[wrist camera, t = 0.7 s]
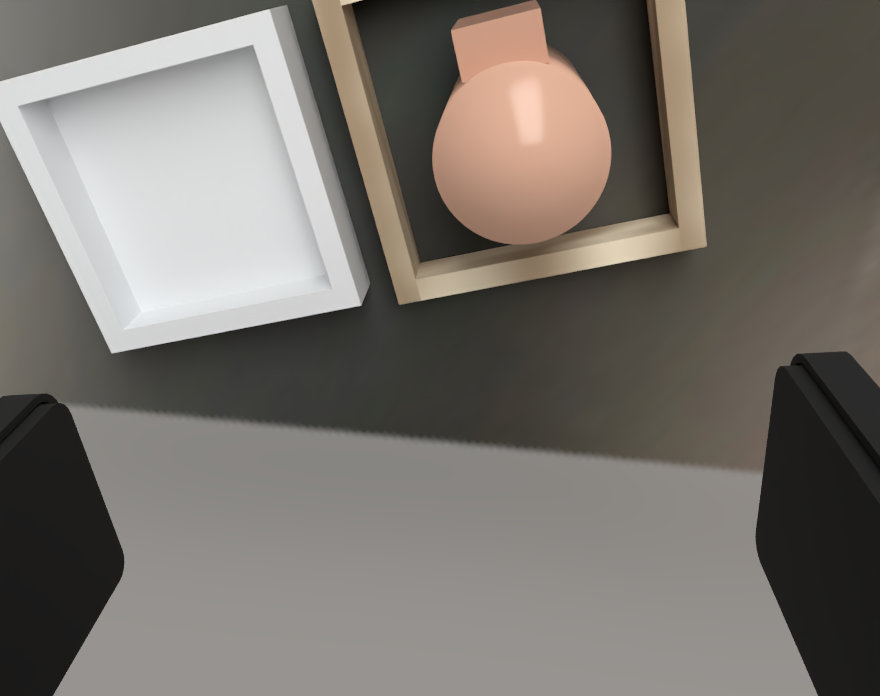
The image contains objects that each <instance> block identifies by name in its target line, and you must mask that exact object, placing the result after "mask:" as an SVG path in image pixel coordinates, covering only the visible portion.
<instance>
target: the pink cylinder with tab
mask: <svg viewBox="0 0 880 696" xmlns="http://www.w3.org/2000/svg"><path fill="white" fill-rule="evenodd" d="M451 34H452V39H453V43H454V48H455V52H456V57H457V62H458V66H459V71H460V74H459V76H458V78H457V80H456V82H455V84H454V87H453V89H452V92H451V95H450V97H449V100H448V102H447V105H446V107H445V110H444V112H443V115H442V118H441V120H440V123H439V126H438V128H437V131H436V134H435V139H434V143H433V153H432V163H433V172H434V178H435V182H436V185H437V188H438V191H439V193H440V195H441V197H442V199H443V201H444V203H445V204H446V206H447V207H448V209H449V210H450V211H451V213H452V214H453V215H454V216H455V217H456V218H457V219H458V220H459V221H460V222H461V223H462V224H463V225H464V226H466V227H467V228H468V229H470V230H471V231H473V232H474V233H476V234H478V235H480V236H482V237H484V238H487V239H490V240H492V241H496V242H500V243H505V244H514V245H520V244H533V243H538V242H542V241H546V240H549V239H551V238H554V237H556V236H559V235H561V234H562V233H564V232H566V231H568V230H569V229H571V228H572V227H573V226H575V225H576V224H578V223H579V222H580V221H581V220H582V219H583V218H584V217H585V216H586V215H587V214H588V213H589V211H590V210H591V209H592V208H593V207H594V205H595V203H596V202H597V200H598V199H599V197H600V195H601V193H602V191H603V189H604V187H605V184H606V181H607V178H608V175H609V169H610V164H611V141H610V136H609V131H608V128H607V125H606V122H605V119H604V117H603V115H602V113H601V111H600V109H599V107H598V106H597V104H596V102H595V100H594V99H593V97H592V95H591V93H590V92H589V90H588V88H587V87H586V85H585V83H584V81H583V80H582V78H581V76H580V75H579V73H578V71H577V70H576V68H575V67H574V65H573V64H572V63H571V62H570V61H569V60H568V58H567V57H566V56H565V55H563V54H562V53H561V52H559V51H558V50H557V49H555V48H553V47H552V46H550V45H547V44H546V39H545V33H544V27H543V21H542V14H541V8H540V6H539V5H538V3H537V1H536V0H532V1H528V2H524V3H520V4H516V5H512V6H508V7H504V8H501V9H497V10H493V11H489V12H485V13H481V14H477V15H473V16H469V17H465V18H461V19H458V21H457V22H456V24H455V25H454V27H453V28H452V29H451Z"/></svg>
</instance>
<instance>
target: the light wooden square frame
mask: <svg viewBox="0 0 880 696" xmlns="http://www.w3.org/2000/svg"><path fill="white" fill-rule="evenodd" d="M357 1H361V0H312V2H313V5H314V9H315V12H316V16H317V19H318V23H319V26H320V30H321V33H322V37H323V40H324V44H325V47H326V51H327V54H328V58H329V61H330V65H331V68H332V72H333V75H334V79H335V82H336V86H337V89H338V93H339V96H340V100H341V103H342V107H343V110H344V114H345V117H346V121H347V124H348V128H349V131H350V135H351V138H352V142H353V145H354V149H355V152H356V156H357V159H358V163H359V166H360V170H361V173H362V177H363V180H364V184H365V187H366V191H367V194H368V198H369V201H370V205H371V208H372V212H373V215H374V219H375V222H376V226H377V229H378V233H379V236H380V240H381V243H382V247H383V250H384V254H385V257H386V261H387V264H388V268H389V271H390V275H391V278H392V282H393V285H394V289H395V292H396V296H397V299H398V303H399V305H401V304H407V303H412V302H417V301H422V300H428V299H433V298H438V297H443V296H449V295H454V294H459V293H465V292H470V291H475V290H480V289H486V288H491V287H496V286H501V285H507V284H512V283H517V282H522V281H528V280H533V279H538V278H544V277H549V276H554V275H559V274H565V273H570V272H575V271H580V270H586V269H591V268H596V267H601V266H607V265H612V264H617V263H623V262H628V261H633V260H638V259H644V258H649V257H654V256H659V255H665V254H670V253H675V252H680V251H686V250H691V249H696V248H702V247H707V244H706V233H705V222H704V211H703V199H702V188H701V177H700V165H699V154H698V143H697V132H696V120H695V109H694V98H693V86H692V75H691V64H690V53H689V41H688V30H687V19H686V8H685V0H647V10H648V19H649V28H650V37H651V46H652V55H653V65H654V74H655V83H656V92H657V101H658V110H659V120H660V129H661V138H662V147H663V156H664V166H665V175H666V184H667V193H668V202H669V211H670V213H668V214H663V215H658V216H653V217H648V218H643V219H638V220H633V221H628V222H623V223H618V224H613V225H608V226H603V227H598V228H593V229H588V230H583V231H578V232H573V233H568V234H563V235H559V236H556V237H554V238H551V239H549V240H546V241H542V242H538V243H533V244H520V245H514V244H513V245H508V246H503V247H497V248H492V249H487V250H482V251H477V252H472V253H467V254H462V255H457V256H452V257H447V258H442V259H437V260H432V261H427V262H422V263H420V260H419V256H418V252H417V249H416V245H415V241H414V237H413V234H412V230H411V226H410V222H409V218H408V215H407V211H406V207H405V203H404V200H403V196H402V192H401V188H400V185H399V181H398V177H397V173H396V169H395V166H394V162H393V158H392V154H391V151H390V147H389V143H388V139H387V136H386V132H385V128H384V124H383V120H382V117H381V113H380V109H379V105H378V102H377V98H376V94H375V90H374V87H373V83H372V79H371V75H370V71H369V68H368V64H367V60H366V56H365V53H364V49H363V45H362V41H361V38H360V34H359V30H358V26H357V22H356V19H355V15H354V11H353V7H352V4H351V3H353V2H357Z"/></svg>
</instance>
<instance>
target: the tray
mask: <svg viewBox="0 0 880 696" xmlns="http://www.w3.org/2000/svg"><path fill="white" fill-rule="evenodd" d="M0 122H1V124H2V126H3V128H4V130H5V132H6V135H7V137H8V139H9V141H10V143H11V145H12V147H13V149H14V151H15V153H16V155H17V157H18V159H19V162H20V164H21V166H22V168H23V170H24V172H25V174H26V176H27V178H28V180H29V182H30V184H31V187H32V189H33V191H34V193H35V195H36V197H37V199H38V201H39V203H40V205H41V207H42V209H43V211H44V214H45V216H46V218H47V220H48V222H49V224H50V226H51V228H52V230H53V232H54V234H55V236H56V238H57V241H58V243H59V245H60V247H61V249H62V251H63V253H64V255H65V257H66V259H67V261H68V263H69V265H70V268H71V270H72V272H73V274H74V276H75V278H76V280H77V282H78V284H79V286H80V288H81V290H82V292H83V295H84V297H85V299H86V301H87V303H88V305H89V307H90V309H91V311H92V313H93V315H94V317H95V319H96V322H97V324H98V326H99V328H100V330H101V332H102V334H103V336H104V338H105V340H106V342H107V344H108V346H109V349H110V351H111V353H116V352H121V351H127V350H132V349H137V348H142V347H148V346H153V345H158V344H163V343H168V342H174V341H179V340H184V339H189V338H195V337H200V336H205V335H210V334H216V333H221V332H226V331H231V330H236V329H242V328H247V327H252V326H257V325H263V324H268V323H273V322H278V321H283V320H289V319H294V318H299V317H304V316H310V315H315V314H320V313H325V312H330V311H336V310H341V309H346V308H351V307H357V306H361V305H362V302H363V300H364V298H365V295H366V293H367V290H368V288H369V286H370V280H369V277H368V274H367V270H366V267H365V264H364V260H363V257H362V254H361V250H360V247H359V244H358V240H357V237H356V234H355V230H354V227H353V224H352V220H351V217H350V214H349V210H348V207H347V204H346V200H345V197H344V194H343V190H342V187H341V184H340V180H339V177H338V174H337V170H336V167H335V163H334V160H333V157H332V153H331V150H330V147H329V143H328V140H327V137H326V133H325V130H324V127H323V123H322V120H321V117H320V113H319V110H318V107H317V103H316V100H315V97H314V93H313V90H312V87H311V83H310V80H309V77H308V73H307V70H306V67H305V63H304V60H303V57H302V53H301V50H300V47H299V43H298V40H297V37H296V33H295V30H294V27H293V23H292V20H291V17H290V13H289V10H288V7H287V5H285V6H281V7H276V8H272V9H268V10H265V11H261V12H257V13H253V14H250V15H246V16H242V17H238V18H235V19H231V20H227V21H224V22H220V23H216V24H212V25H209V26H205V27H201V28H198V29H194V30H190V31H186V32H183V33H179V34H175V35H171V36H168V37H164V38H160V39H157V40H153V41H149V42H145V43H142V44H138V45H134V46H131V47H127V48H123V49H119V50H116V51H112V52H108V53H105V54H101V55H97V56H93V57H90V58H86V59H82V60H78V61H75V62H71V63H67V64H64V65H60V66H56V67H52V68H49V69H45V70H41V71H38V72H34V73H30V74H26V75H23V76H19V77H15V78H11V79H8V80H4V81H0Z"/></svg>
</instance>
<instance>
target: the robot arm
mask: <svg viewBox="0 0 880 696" xmlns="http://www.w3.org/2000/svg"><path fill="white" fill-rule="evenodd" d="M756 546H757V552H758V557H759V560H760V563H761V565H762V567H763V570H764V572H765V574H766V576H767V579H768V581H769V583H770V586H771V588H772V590H773V593H774V595H775V597H776V599H777V601H778V604H779V606H780V608H781V611H782V613H783V616H784V618H785V620H786V623H787V625H788V627H789V629H790V632H791V634H792V636H793V639H794V641H795V643H796V646H797V648H798V650H799V653H800V654H801V657H802V659H803V662H804V664H805V666H806V669H807V671H808V673H809V676H810V678H811V680H812V682H813V685H814V687H815V689H816V692H817V694H818V696H880V388H879V387H878V386H877V384H876V383H875V382H874V381H873V380H872V379H871V377H870V376H869V375H868V374H867V373H866V372H865V371H864V369H863V368H862V367H861V366H860V365H859V364H858V363H857V361H856V360H855V359H854V358H853V357H852V356H851V355H850V354H849V353H847V352H824V353H805V354H796V355H795V356H794V357H793V359H792V361H791V364H790V366H780V367H779V368H778V370H777V372H776V377H775V383H774V391H773V399H772V407H771V415H770V423H769V431H768V439H767V447H766V455H765V463H764V471H763V479H762V487H761V495H760V503H759V512H758V519H757V527H756ZM123 569H124V554H123V550H122V548H121V545H120V542H119V540H118V537H117V534H116V532H115V529H114V527H113V524H112V521H111V519H110V516H109V513H108V510H107V508H106V505H105V503H104V500H103V497H102V495H101V492H100V489H99V487H98V484H97V481H96V479H95V476H94V473H93V471H92V468H91V465H90V463H89V460H88V457H87V455H86V452H85V449H84V447H83V444H82V441H81V439H80V436H79V433H78V431H77V428H76V425H75V423H74V420H73V417H72V415H71V413H70V411H69V409H68V408H67V407H66V406H65V405H64V404H61V403H58V402H57V400H56V399H55V398H54V397H53V396H51V395H49V394H28V395H9V396H3V397H1V398H0V696H53V694H54V693H55V691H56V689H57V687H58V686H59V684H60V682H61V681H62V679H63V677H64V676H65V674H66V672H67V670H68V669H69V667H70V665H71V664H72V662H73V660H74V658H75V657H76V655H77V653H78V651H79V650H80V648H81V646H82V645H83V643H84V641H85V639H86V638H87V636H88V634H89V633H90V631H91V629H92V627H93V626H94V624H95V622H96V621H97V619H98V617H99V615H100V614H101V612H102V610H103V609H104V607H105V605H106V603H107V602H108V600H109V598H110V597H111V595H112V593H113V591H114V590H115V588H116V586H117V584H118V583H119V581H120V579H121V577H122V574H123Z"/></svg>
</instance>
